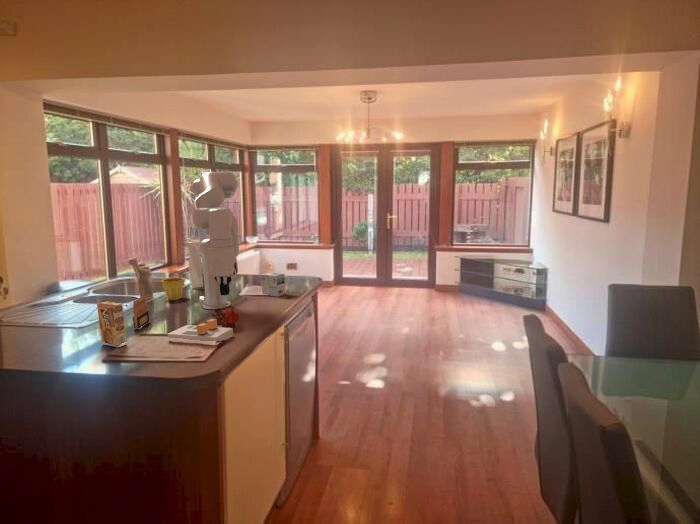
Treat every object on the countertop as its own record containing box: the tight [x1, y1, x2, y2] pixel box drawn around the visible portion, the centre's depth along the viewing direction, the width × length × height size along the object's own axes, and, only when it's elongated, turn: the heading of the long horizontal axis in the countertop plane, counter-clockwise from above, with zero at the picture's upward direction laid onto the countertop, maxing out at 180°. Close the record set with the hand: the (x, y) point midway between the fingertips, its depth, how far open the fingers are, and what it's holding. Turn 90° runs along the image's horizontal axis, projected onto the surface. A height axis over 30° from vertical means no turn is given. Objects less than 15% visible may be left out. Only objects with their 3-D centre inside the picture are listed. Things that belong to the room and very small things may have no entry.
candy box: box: [96, 301, 128, 345], centre depth 169 cm, size 9×4×15 cm, turn 61°
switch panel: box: [167, 324, 234, 341], centre depth 174 cm, size 20×11×3 cm, turn 72°
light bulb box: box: [260, 272, 287, 297], centre depth 242 cm, size 11×7×11 cm, turn 58°
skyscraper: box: [185, 237, 205, 290], centre depth 264 cm, size 8×8×28 cm
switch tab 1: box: [196, 322, 208, 334], centre depth 170 cm, size 2×3×3 cm
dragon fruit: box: [214, 306, 240, 328], centre depth 188 cm, size 8×8×12 cm
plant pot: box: [161, 277, 185, 301], centre depth 241 cm, size 10×10×10 cm
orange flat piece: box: [132, 294, 150, 329], centre depth 192 cm, size 11×2×12 cm, turn 0°
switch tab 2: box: [205, 318, 218, 329], centre depth 176 cm, size 2×3×3 cm
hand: (225, 294), depth 172 cm, fingers closed
